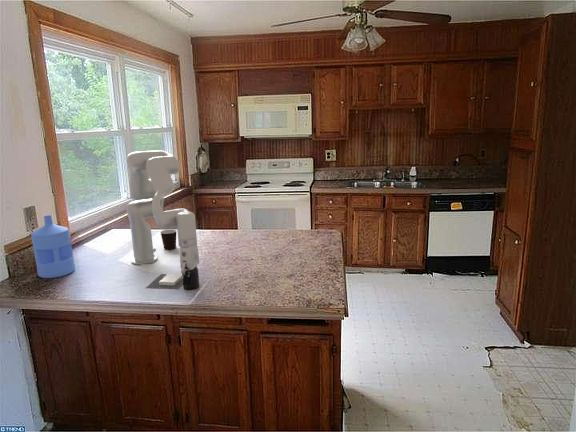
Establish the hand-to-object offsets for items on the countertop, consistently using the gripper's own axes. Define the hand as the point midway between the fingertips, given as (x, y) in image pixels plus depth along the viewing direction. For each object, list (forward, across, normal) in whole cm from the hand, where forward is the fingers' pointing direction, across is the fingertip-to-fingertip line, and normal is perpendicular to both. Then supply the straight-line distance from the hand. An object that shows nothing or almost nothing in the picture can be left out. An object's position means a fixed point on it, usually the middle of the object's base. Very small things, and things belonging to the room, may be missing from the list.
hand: (190, 281), depth 169 cm
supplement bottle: (+4, 0, 0) cm, 4 cm away
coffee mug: (+4, +53, +32) cm, 62 cm away
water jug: (+4, +12, +72) cm, 73 cm away
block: (+2, +5, +15) cm, 16 cm away
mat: (+3, +5, +12) cm, 13 cm away
